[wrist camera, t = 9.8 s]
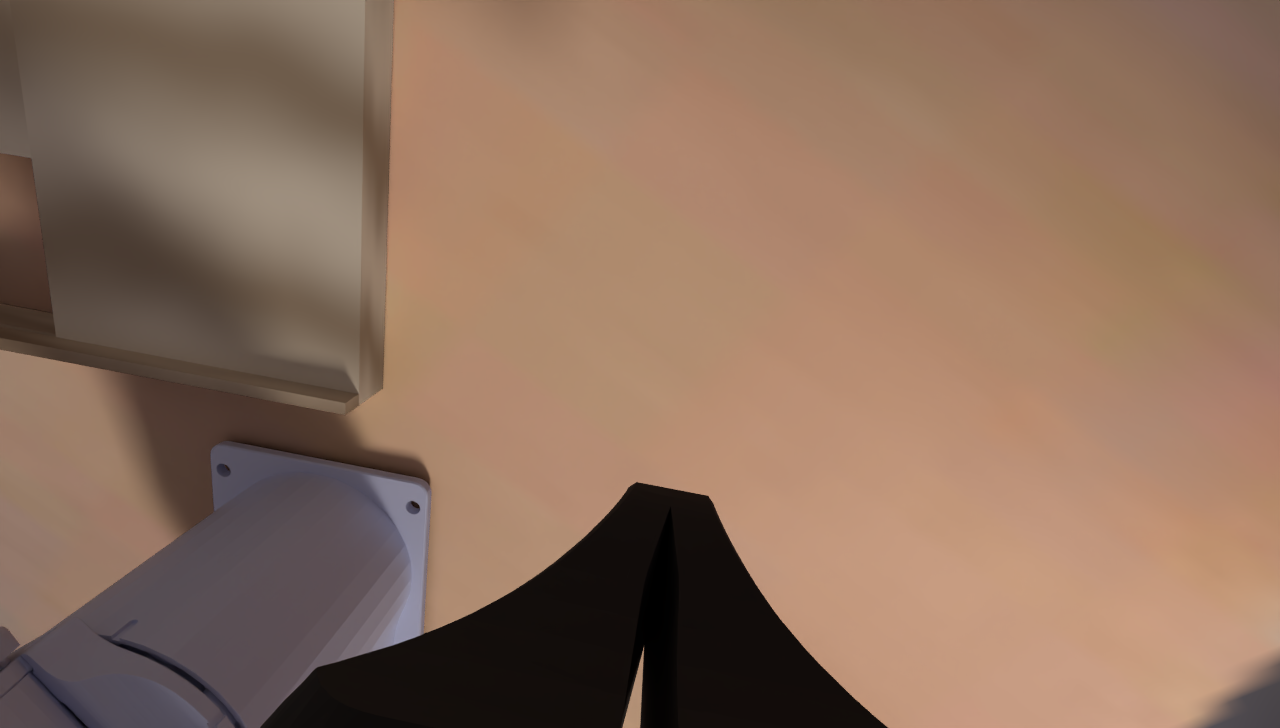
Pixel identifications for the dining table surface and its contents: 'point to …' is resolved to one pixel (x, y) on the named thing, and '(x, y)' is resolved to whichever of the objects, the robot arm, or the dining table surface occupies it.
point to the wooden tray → (207, 189)
